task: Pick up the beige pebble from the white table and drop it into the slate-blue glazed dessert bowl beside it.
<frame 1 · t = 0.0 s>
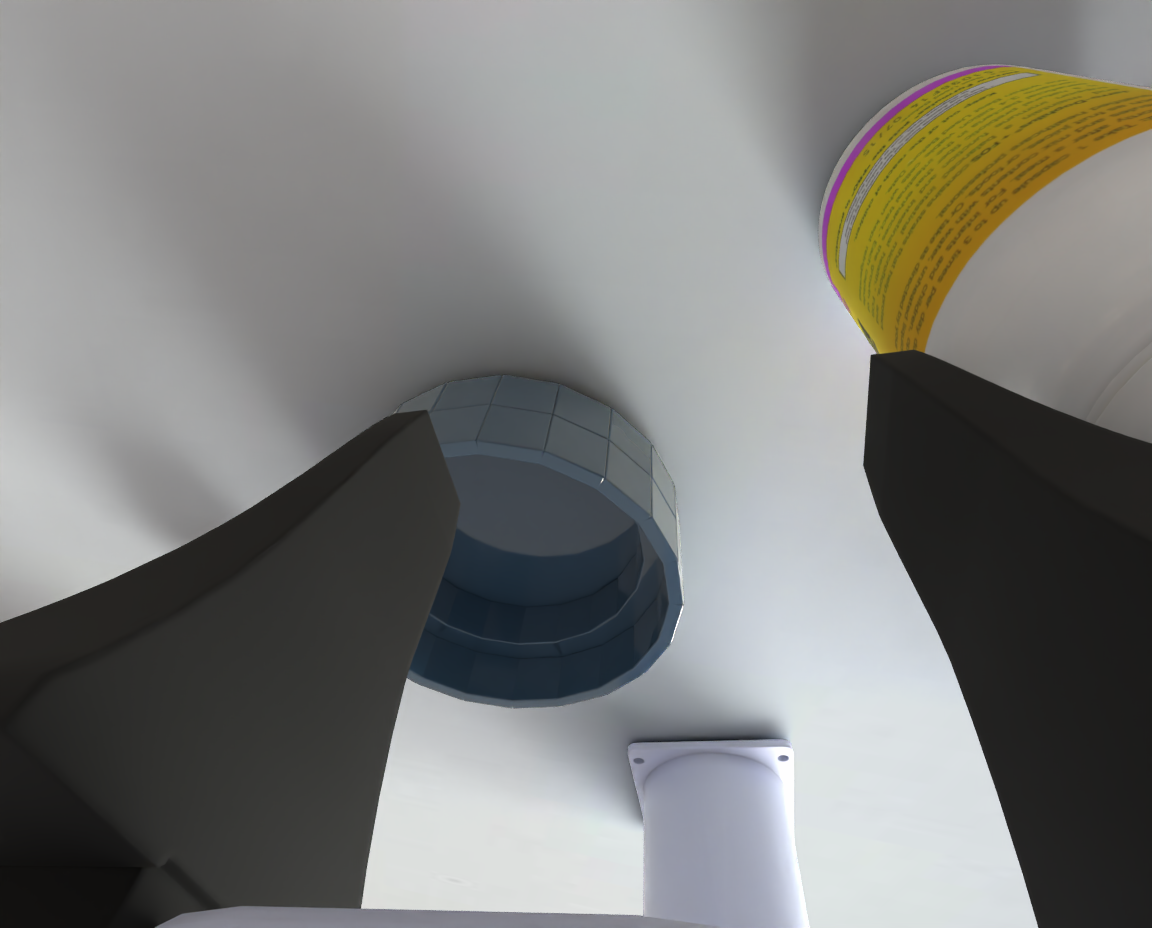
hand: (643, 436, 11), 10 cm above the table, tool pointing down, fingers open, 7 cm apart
supplement bottle: (938, 204, 18), on the table
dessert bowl: (519, 510, 25), on the table
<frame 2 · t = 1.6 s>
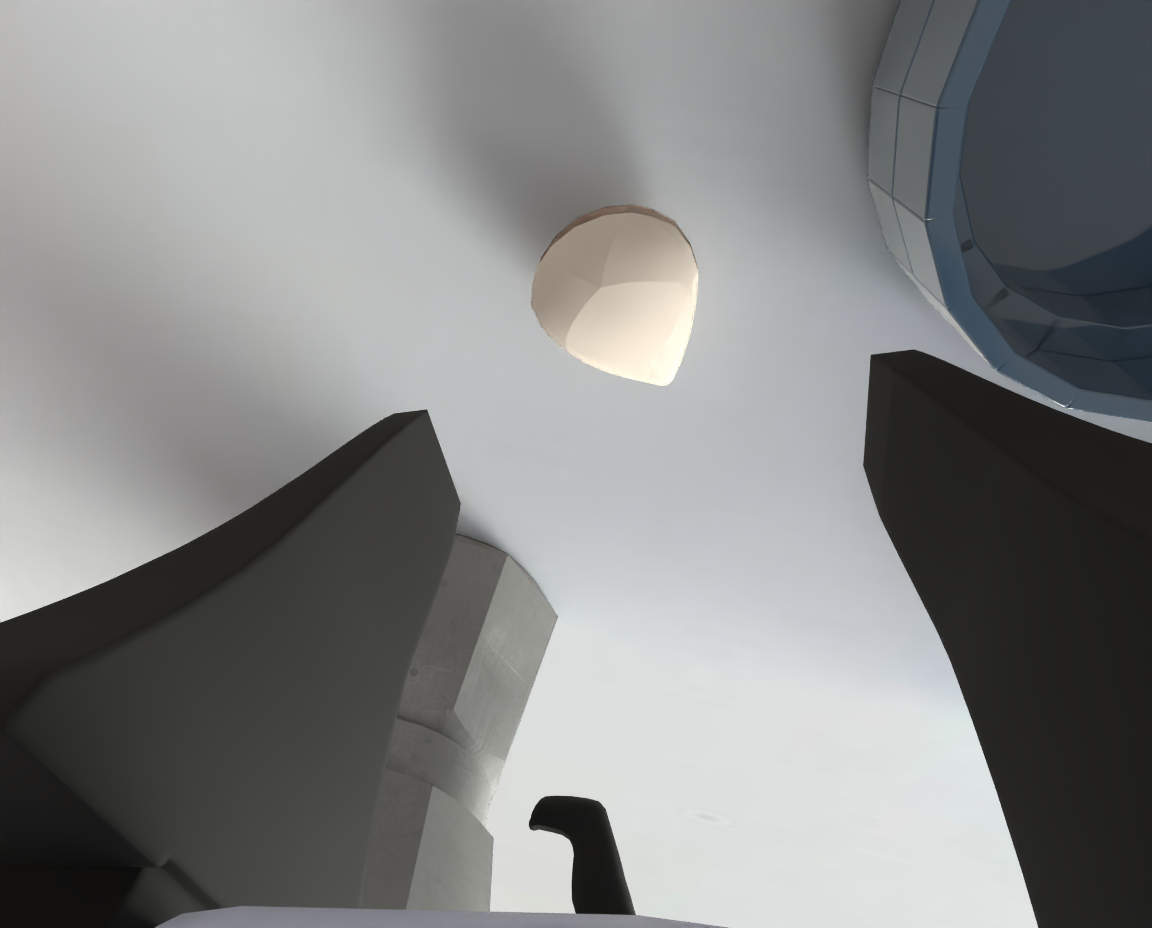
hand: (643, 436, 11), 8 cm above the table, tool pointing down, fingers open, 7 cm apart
beige pebble: (627, 289, 18), on the table
coffeepot: (471, 608, 26), on the table
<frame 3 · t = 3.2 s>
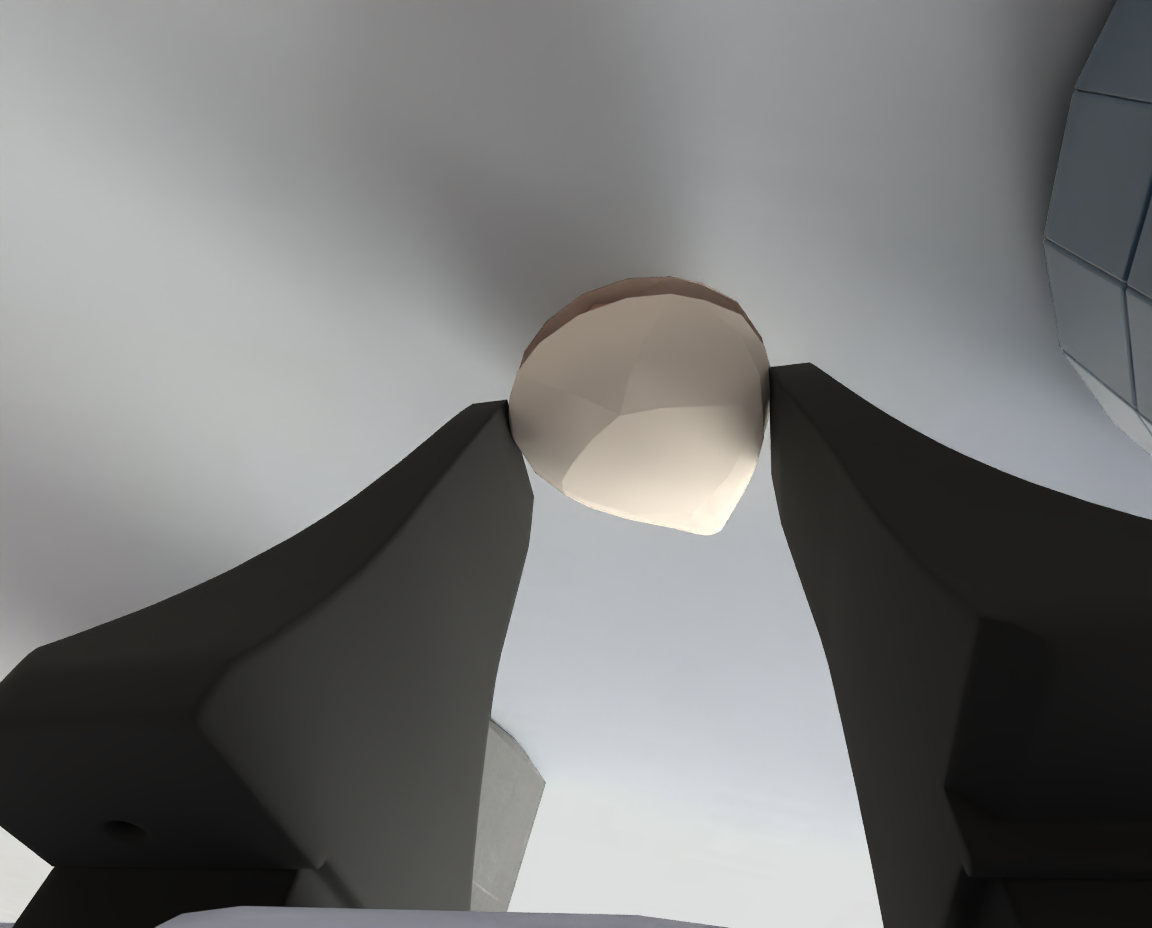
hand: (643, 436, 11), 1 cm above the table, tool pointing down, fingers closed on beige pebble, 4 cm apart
beige pebble: (653, 389, 12), on the table, touching gripper
coffeepot: (434, 764, 20), on the table
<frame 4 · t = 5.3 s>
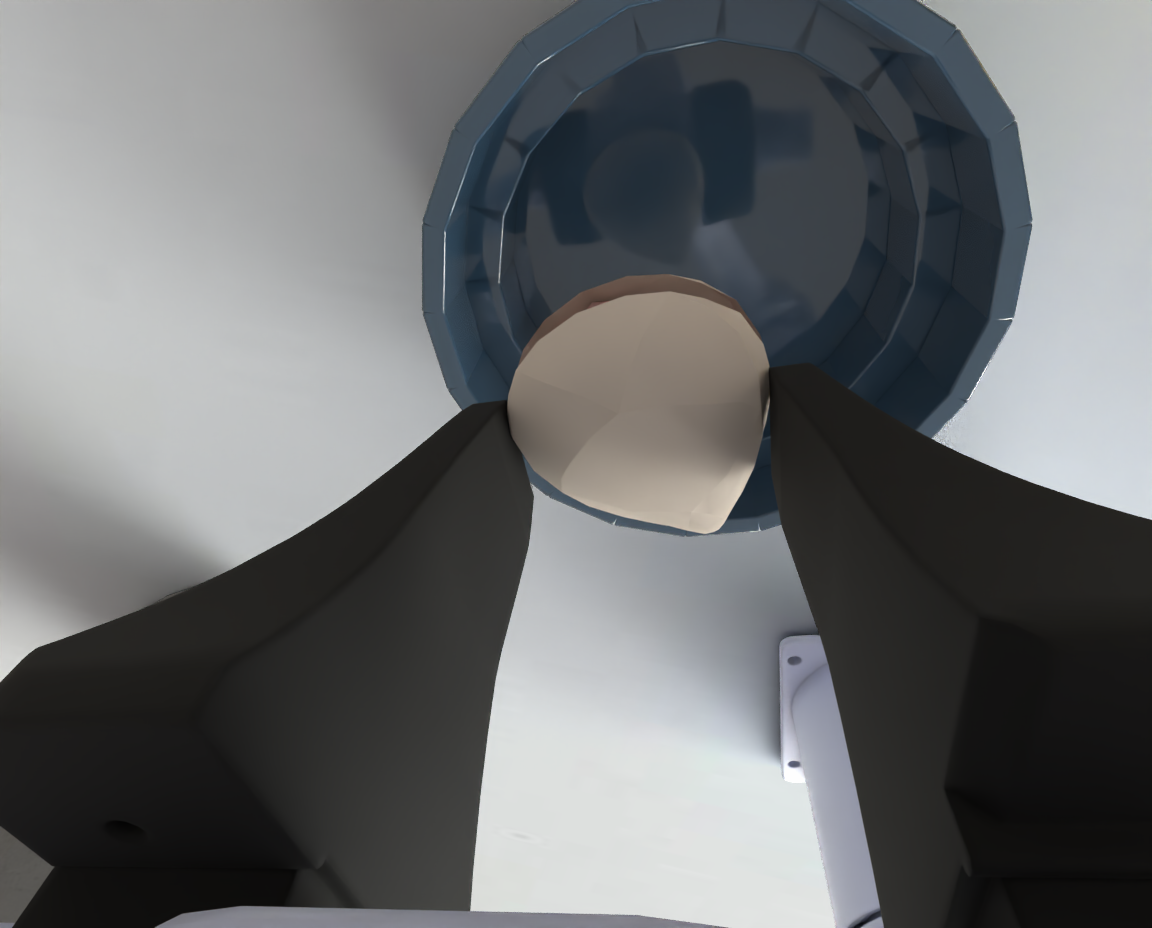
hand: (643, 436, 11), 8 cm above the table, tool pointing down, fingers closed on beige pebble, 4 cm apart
beige pebble: (652, 387, 12), point 7 cm above the table, touching gripper
coffeepot: (267, 653, 29), on the table
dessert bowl: (694, 250, 17), on the table
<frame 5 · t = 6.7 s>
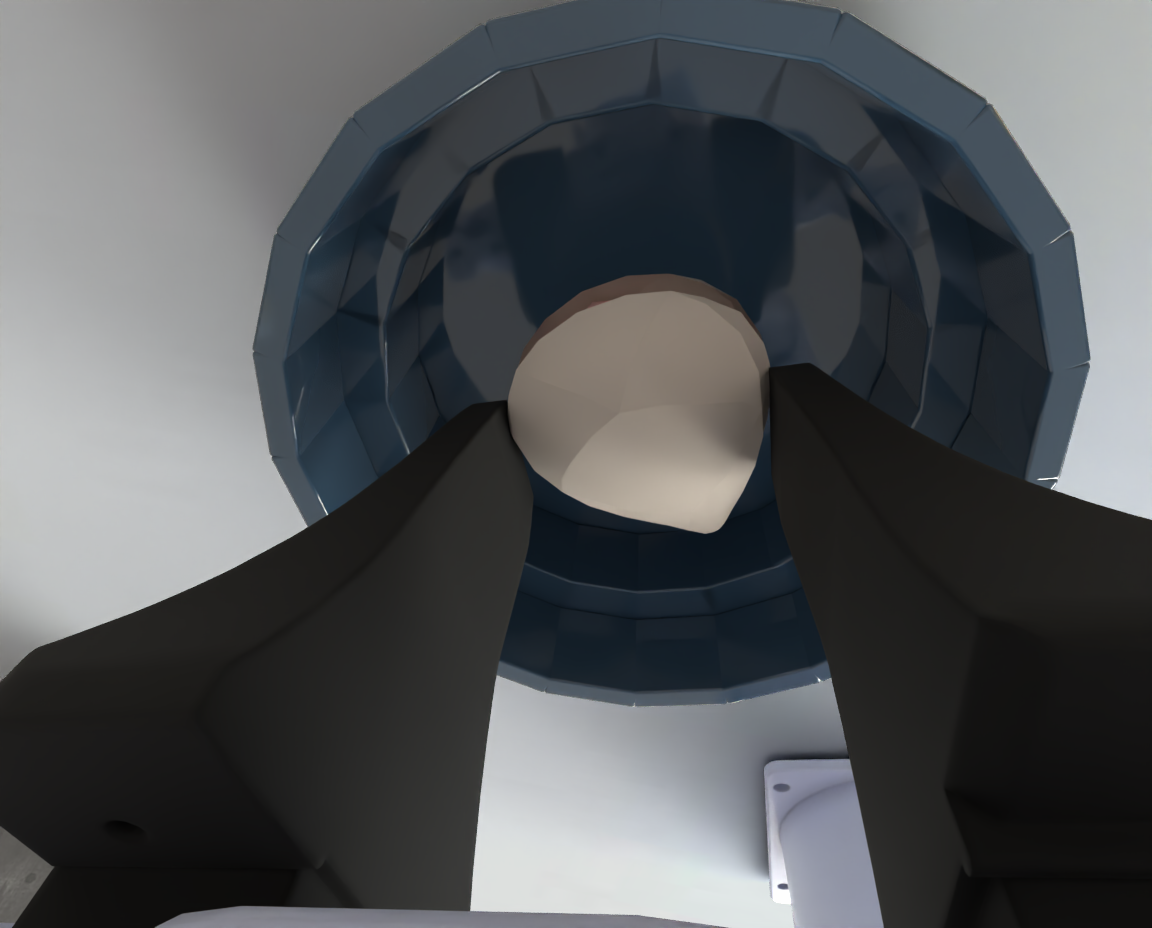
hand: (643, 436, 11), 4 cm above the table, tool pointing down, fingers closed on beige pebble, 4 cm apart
beige pebble: (653, 387, 12), point 2 cm above the table, touching gripper
coffeepot: (185, 761, 26), on the table
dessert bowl: (644, 346, 14), on the table
when the fingers open (2 cm above the table, at t = 7.7 s): beige pebble stays where it is, resting on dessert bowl.
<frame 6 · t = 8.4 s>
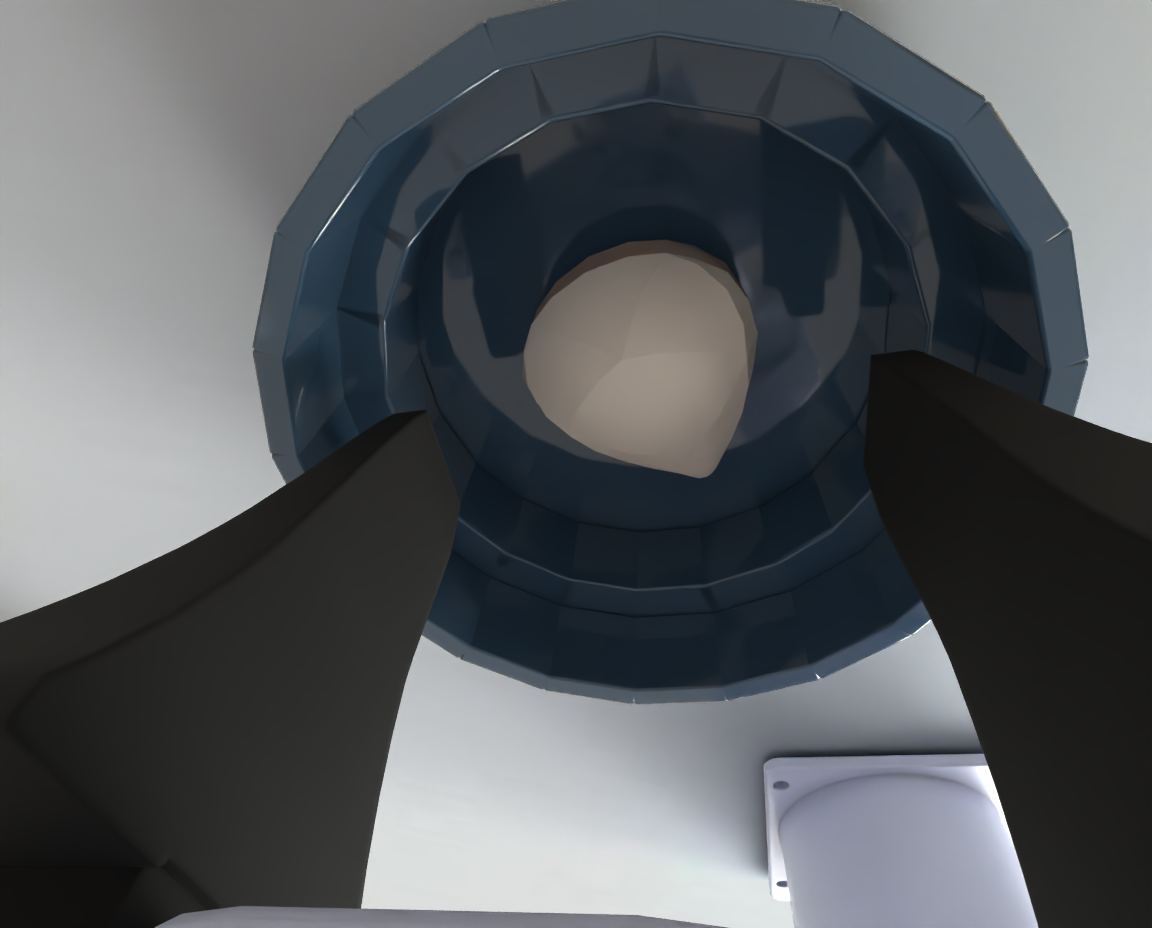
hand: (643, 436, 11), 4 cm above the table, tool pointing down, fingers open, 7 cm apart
beige pebble: (652, 347, 14), resting on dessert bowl
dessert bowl: (644, 344, 14), on the table
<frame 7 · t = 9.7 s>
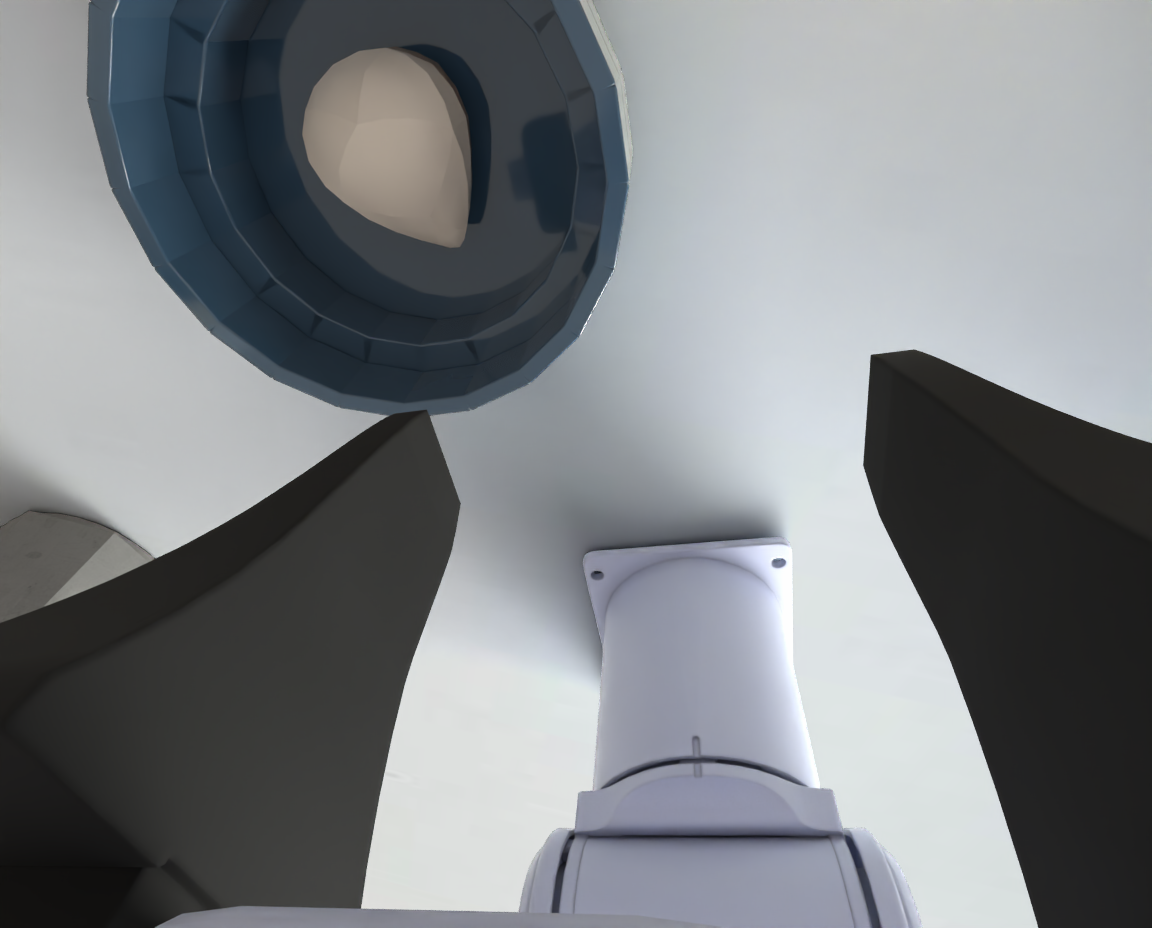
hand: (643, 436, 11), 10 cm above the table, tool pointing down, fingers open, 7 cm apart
beige pebble: (420, 152, 18), resting on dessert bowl
coffeepot: (116, 581, 30), on the table
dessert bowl: (417, 152, 18), on the table
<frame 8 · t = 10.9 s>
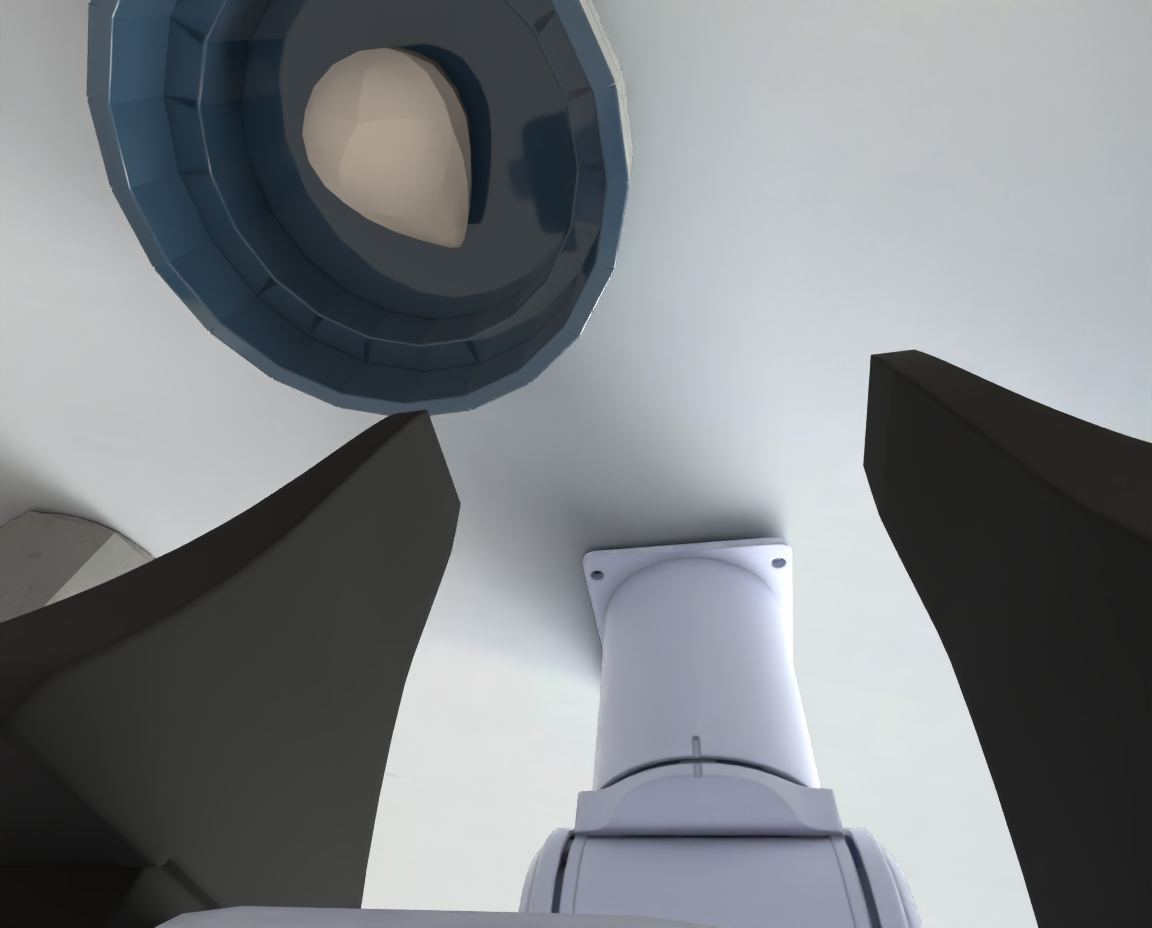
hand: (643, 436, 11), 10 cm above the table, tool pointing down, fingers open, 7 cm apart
beige pebble: (420, 152, 18), resting on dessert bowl
coffeepot: (116, 581, 30), on the table
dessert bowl: (417, 152, 18), on the table
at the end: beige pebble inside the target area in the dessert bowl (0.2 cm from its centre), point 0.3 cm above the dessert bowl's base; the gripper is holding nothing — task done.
